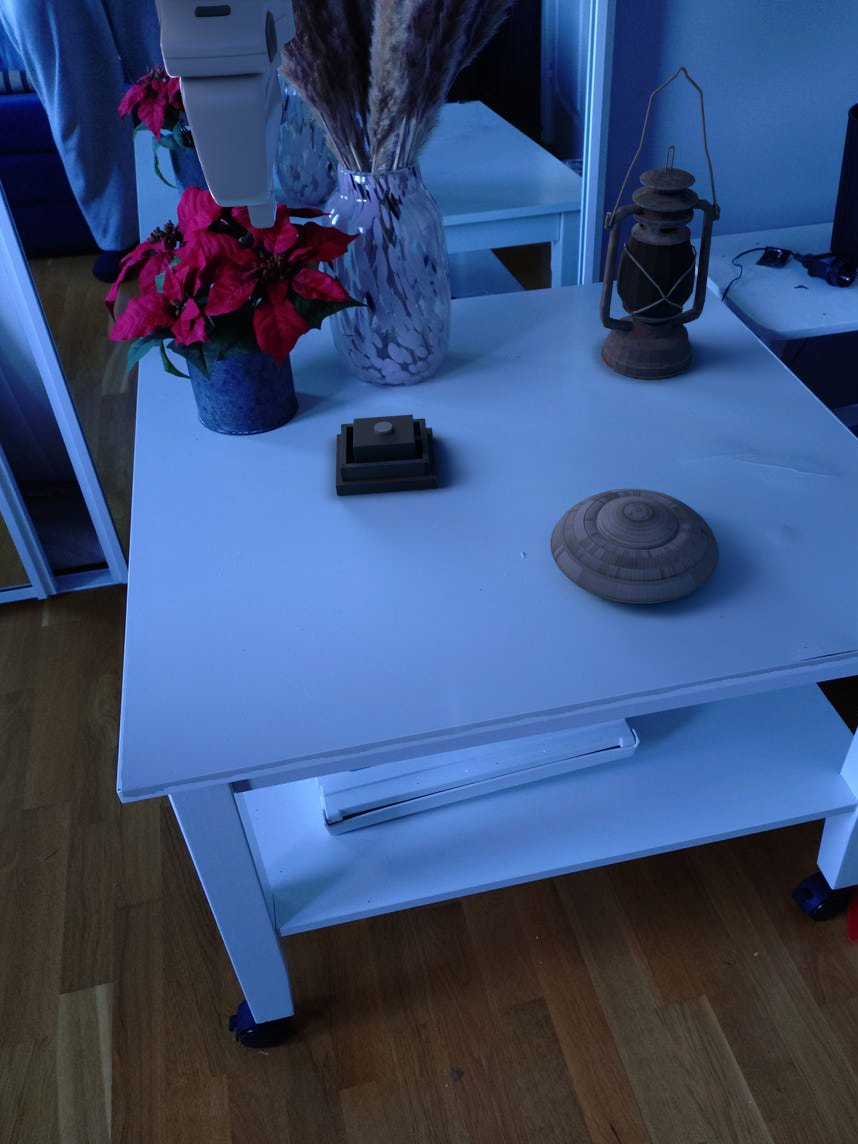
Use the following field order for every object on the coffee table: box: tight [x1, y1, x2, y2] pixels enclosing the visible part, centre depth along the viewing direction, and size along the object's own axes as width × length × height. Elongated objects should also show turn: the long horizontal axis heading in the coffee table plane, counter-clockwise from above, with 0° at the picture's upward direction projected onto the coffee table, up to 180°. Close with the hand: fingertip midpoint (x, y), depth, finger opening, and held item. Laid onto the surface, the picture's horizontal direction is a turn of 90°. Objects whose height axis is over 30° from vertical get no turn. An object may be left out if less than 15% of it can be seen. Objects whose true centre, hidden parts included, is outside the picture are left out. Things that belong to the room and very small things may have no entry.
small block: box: [352, 414, 416, 464], centre depth 93 cm, size 6×5×3 cm
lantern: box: [599, 66, 721, 380], centre depth 98 cm, size 12×11×30 cm
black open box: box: [335, 418, 439, 496], centre depth 94 cm, size 10×9×3 cm
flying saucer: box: [550, 488, 720, 605], centre depth 83 cm, size 15×15×6 cm
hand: (265, 220), depth 72 cm, fingers closed
